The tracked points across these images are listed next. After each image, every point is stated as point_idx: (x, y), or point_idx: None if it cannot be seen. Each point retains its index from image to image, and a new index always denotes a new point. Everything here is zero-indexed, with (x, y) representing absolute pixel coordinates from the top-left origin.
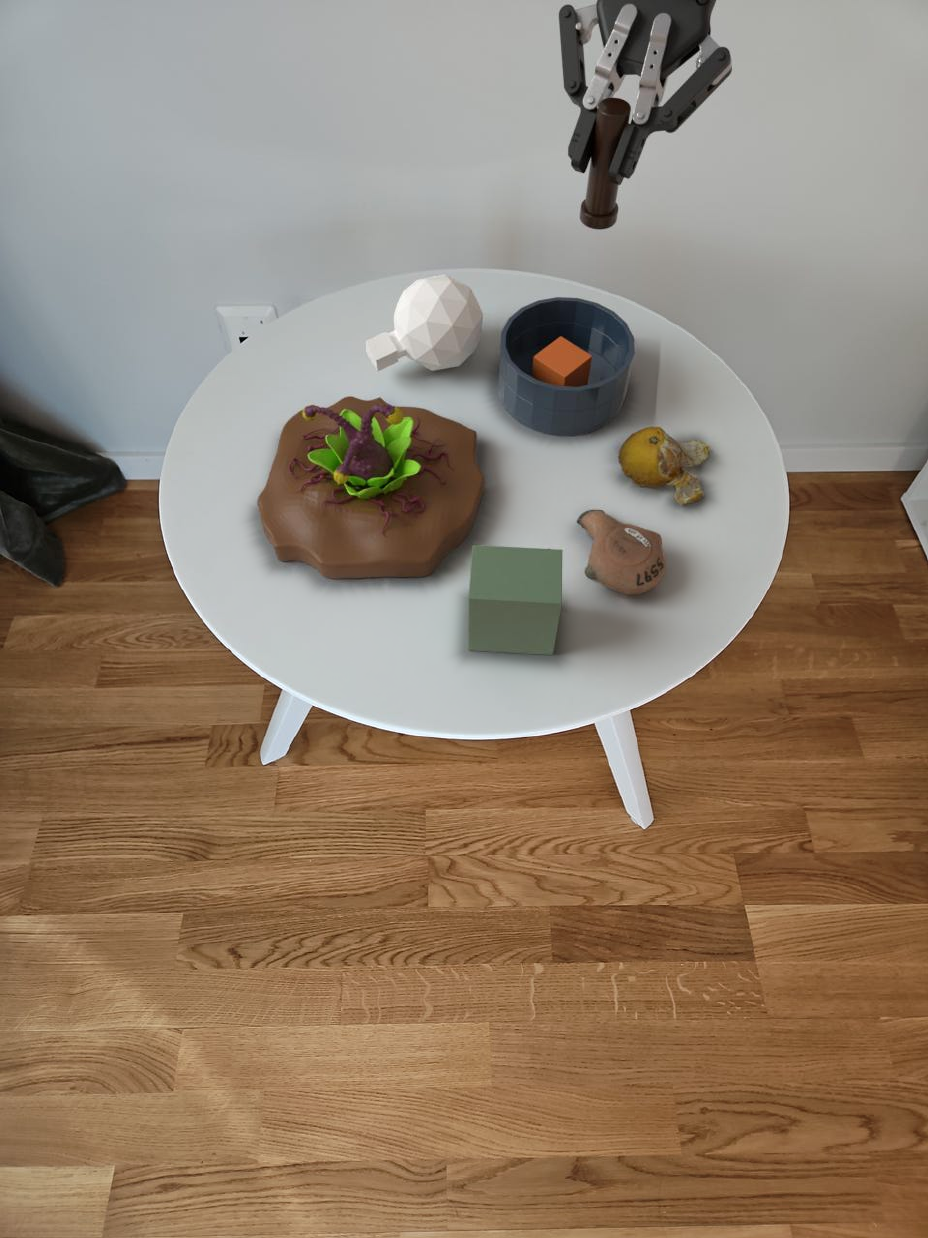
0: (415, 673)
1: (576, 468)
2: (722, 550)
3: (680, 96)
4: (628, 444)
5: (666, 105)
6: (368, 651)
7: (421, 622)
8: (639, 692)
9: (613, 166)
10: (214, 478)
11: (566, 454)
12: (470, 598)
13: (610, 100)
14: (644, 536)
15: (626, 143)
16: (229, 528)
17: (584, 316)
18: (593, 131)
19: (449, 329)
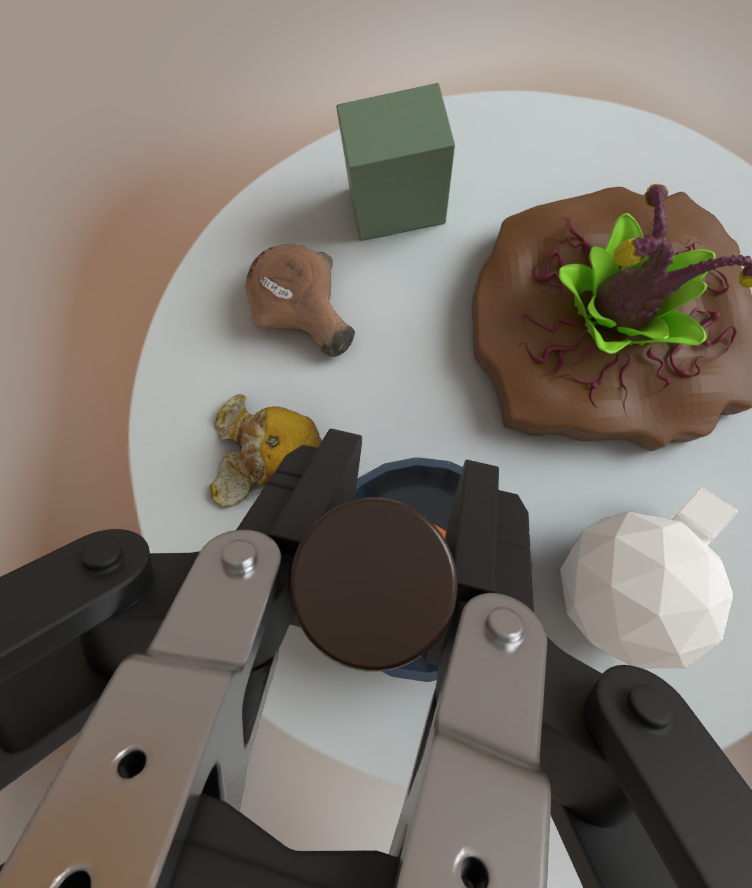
0: (475, 136)
1: (371, 426)
2: (190, 353)
3: (2, 615)
4: (307, 438)
5: (98, 581)
6: (529, 144)
7: (488, 186)
8: (262, 175)
9: (344, 441)
10: None
11: (388, 445)
12: (436, 83)
13: (401, 627)
14: (268, 290)
15: (302, 484)
16: (746, 234)
17: (409, 663)
18: None
19: (616, 532)
